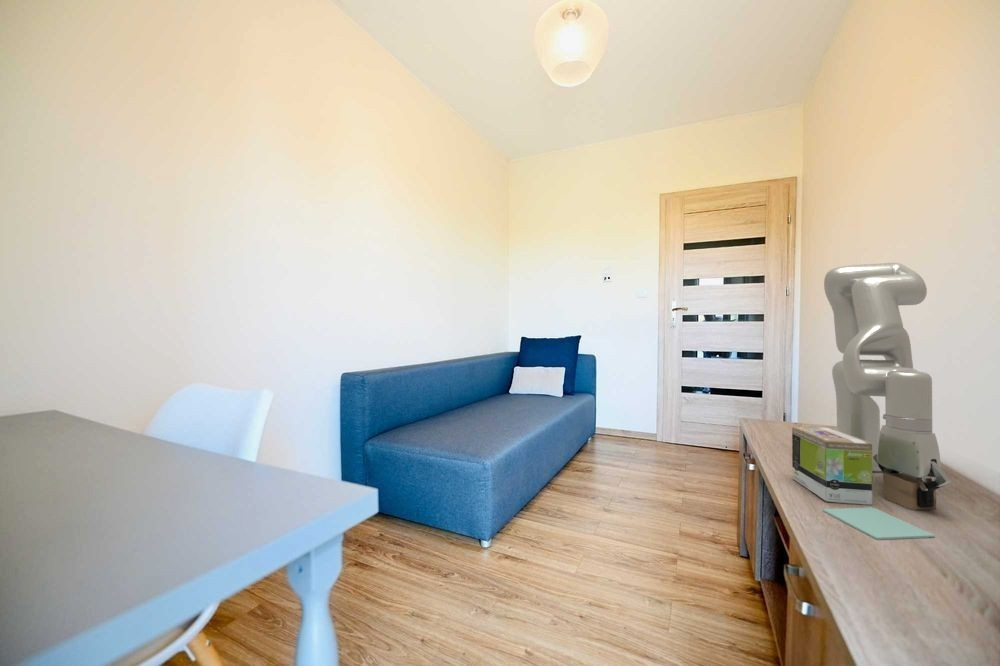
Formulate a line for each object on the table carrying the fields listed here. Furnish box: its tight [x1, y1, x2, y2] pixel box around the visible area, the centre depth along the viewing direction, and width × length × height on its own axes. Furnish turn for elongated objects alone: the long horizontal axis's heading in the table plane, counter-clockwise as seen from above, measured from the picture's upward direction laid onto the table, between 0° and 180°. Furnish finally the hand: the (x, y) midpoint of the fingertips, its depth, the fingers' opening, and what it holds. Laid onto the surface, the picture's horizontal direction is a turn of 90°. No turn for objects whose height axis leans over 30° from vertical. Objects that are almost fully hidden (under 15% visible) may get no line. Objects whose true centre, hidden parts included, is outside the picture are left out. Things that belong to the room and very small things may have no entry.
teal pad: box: [821, 506, 936, 541], centre depth 81 cm, size 12×12×1 cm
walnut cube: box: [882, 472, 937, 511], centre depth 90 cm, size 6×6×6 cm
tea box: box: [791, 426, 873, 506], centre depth 97 cm, size 15×10×15 cm, turn 168°
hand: (908, 499), depth 90 cm, fingers closed on walnut cube, 6 cm apart
